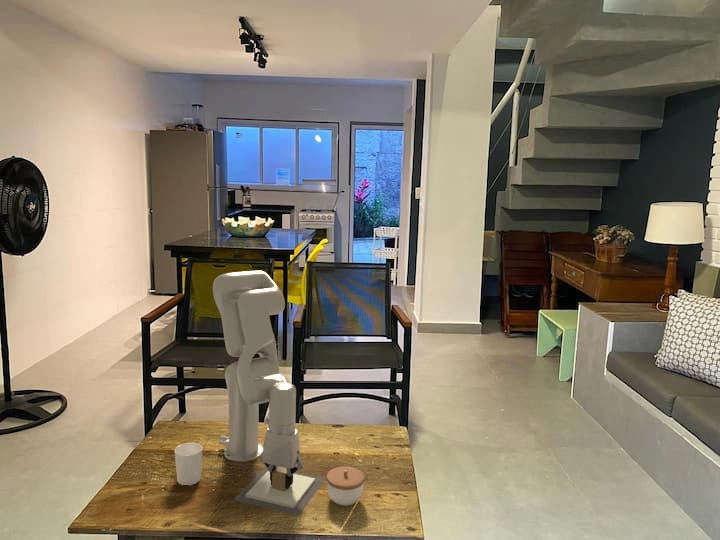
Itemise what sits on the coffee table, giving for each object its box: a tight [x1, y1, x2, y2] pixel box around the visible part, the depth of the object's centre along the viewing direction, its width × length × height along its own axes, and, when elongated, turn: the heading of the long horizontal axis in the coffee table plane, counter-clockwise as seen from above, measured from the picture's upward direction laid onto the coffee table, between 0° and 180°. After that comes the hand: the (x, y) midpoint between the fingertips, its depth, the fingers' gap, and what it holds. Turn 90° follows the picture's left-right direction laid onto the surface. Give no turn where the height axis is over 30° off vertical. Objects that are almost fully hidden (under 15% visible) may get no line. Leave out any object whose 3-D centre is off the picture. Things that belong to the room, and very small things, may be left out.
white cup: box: [174, 442, 203, 486], centre depth 168 cm, size 8×8×10 cm
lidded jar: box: [326, 465, 365, 507], centre depth 161 cm, size 11×11×9 cm
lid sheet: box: [246, 466, 315, 508], centre depth 165 cm, size 15×15×6 cm
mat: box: [233, 466, 327, 517], centre depth 166 cm, size 20×20×1 cm
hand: (281, 483), depth 165 cm, fingers closed on lid sheet, 4 cm apart
